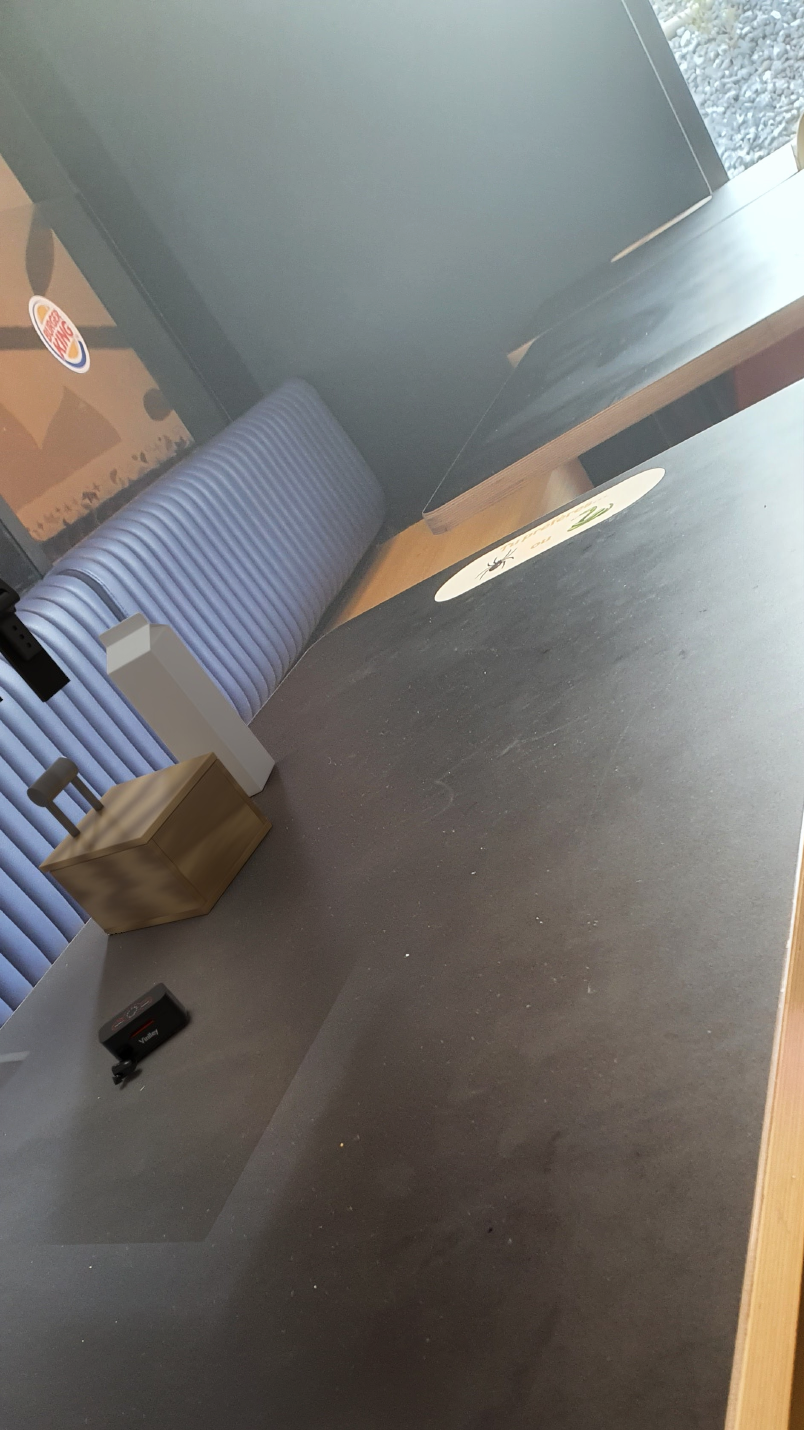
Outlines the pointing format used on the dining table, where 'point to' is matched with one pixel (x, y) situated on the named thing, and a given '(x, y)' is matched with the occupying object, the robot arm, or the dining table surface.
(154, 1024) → the black clip-on device
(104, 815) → the lid
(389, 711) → the dining table surface
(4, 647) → the robot arm
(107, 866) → the chest
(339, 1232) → the dining table surface
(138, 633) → the milk
